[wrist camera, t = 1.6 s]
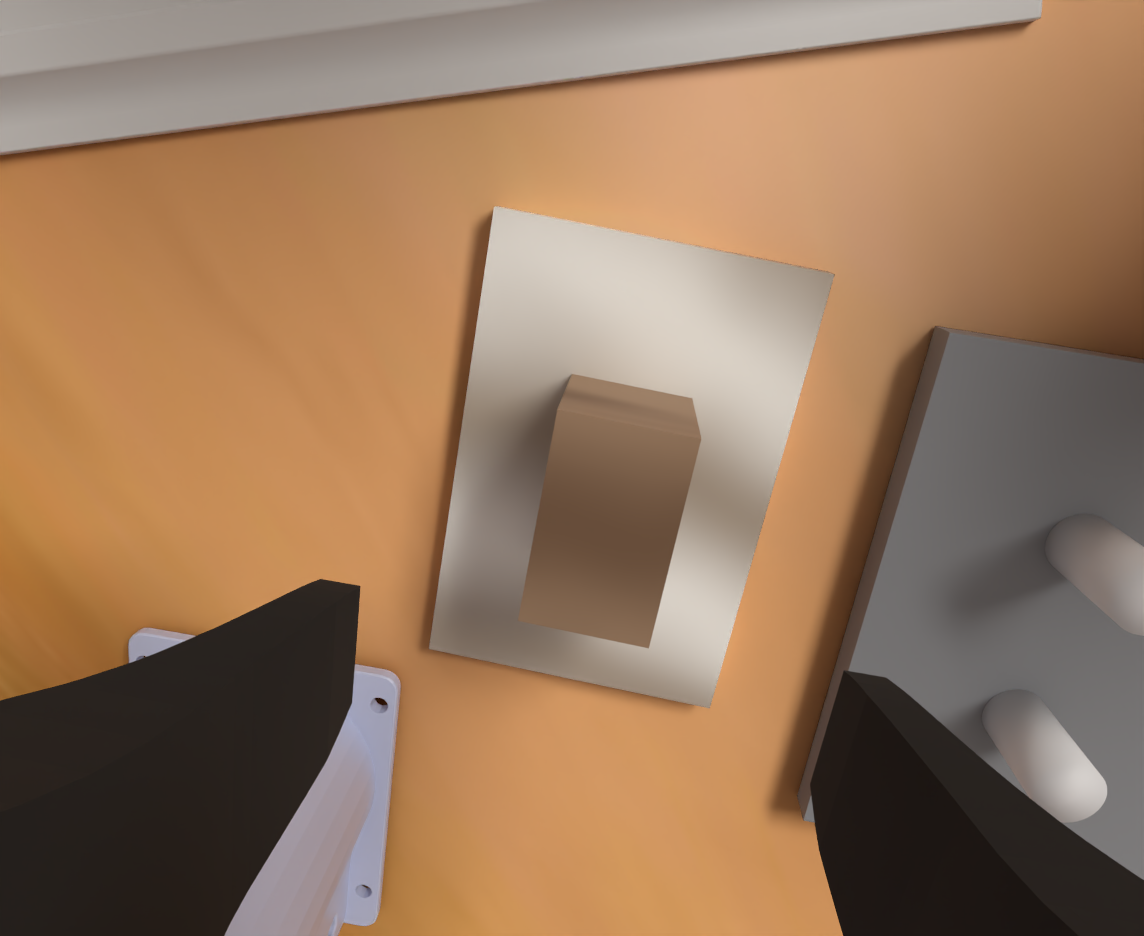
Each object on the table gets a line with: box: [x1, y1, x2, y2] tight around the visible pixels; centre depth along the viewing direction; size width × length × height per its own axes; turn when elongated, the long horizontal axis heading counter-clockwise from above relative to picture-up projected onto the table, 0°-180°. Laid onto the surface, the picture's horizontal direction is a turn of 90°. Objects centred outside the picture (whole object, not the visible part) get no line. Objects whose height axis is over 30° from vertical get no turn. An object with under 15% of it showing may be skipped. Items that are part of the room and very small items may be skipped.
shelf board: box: [429, 206, 835, 708], centre depth 20 cm, size 12×8×5 cm, turn 169°
